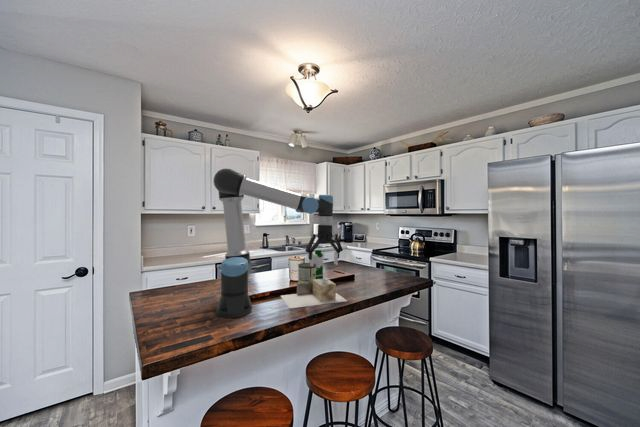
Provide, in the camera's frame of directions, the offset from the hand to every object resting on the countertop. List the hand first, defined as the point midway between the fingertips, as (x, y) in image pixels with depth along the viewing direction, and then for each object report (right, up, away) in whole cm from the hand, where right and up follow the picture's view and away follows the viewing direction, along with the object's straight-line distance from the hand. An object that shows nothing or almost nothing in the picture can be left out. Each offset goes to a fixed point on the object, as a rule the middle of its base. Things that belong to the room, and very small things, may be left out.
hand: (323, 265), depth 143 cm
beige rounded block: (0, -17, 0) cm, 17 cm away
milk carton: (-5, -17, +33) cm, 37 cm away
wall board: (-6, -17, -2) cm, 18 cm away
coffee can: (-10, -17, +17) cm, 26 cm away
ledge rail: (-5, -17, +7) cm, 19 cm away
